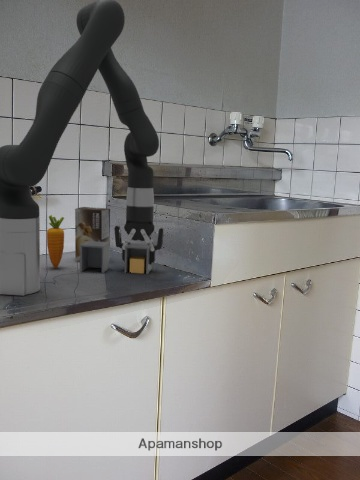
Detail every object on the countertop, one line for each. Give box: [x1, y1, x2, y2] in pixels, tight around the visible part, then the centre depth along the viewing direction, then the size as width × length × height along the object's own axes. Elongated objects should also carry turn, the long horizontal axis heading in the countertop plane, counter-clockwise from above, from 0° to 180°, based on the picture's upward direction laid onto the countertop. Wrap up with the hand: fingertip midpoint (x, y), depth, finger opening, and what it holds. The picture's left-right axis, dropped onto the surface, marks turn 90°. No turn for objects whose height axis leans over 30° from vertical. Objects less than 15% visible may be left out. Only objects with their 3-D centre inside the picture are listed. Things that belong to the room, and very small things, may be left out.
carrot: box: [46, 214, 65, 269], centre depth 137 cm, size 5×5×15 cm
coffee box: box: [74, 206, 111, 262], centre depth 149 cm, size 9×6×16 cm
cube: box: [129, 256, 147, 274], centre depth 138 cm, size 4×4×4 cm
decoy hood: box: [79, 241, 110, 274], centre depth 138 cm, size 6×6×8 cm
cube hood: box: [124, 241, 153, 275], centre depth 138 cm, size 6×6×8 cm
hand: (138, 263), depth 139 cm, fingers closed on cube hood, 6 cm apart
